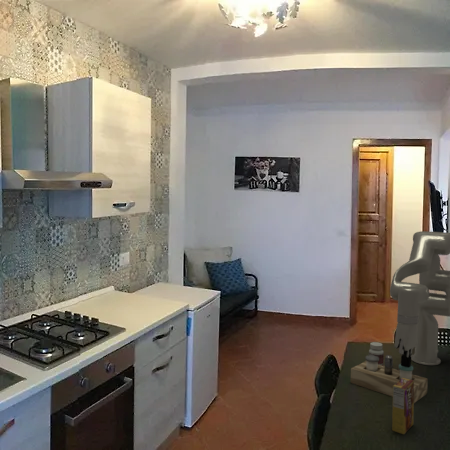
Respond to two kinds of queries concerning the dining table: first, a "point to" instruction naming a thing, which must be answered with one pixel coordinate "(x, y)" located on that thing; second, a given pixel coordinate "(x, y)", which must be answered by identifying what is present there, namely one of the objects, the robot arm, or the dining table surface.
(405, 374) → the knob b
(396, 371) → the wooden holder block
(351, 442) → the dining table surface
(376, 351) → the pill bottle
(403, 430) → the candy box
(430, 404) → the dining table surface
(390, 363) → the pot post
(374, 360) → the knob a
